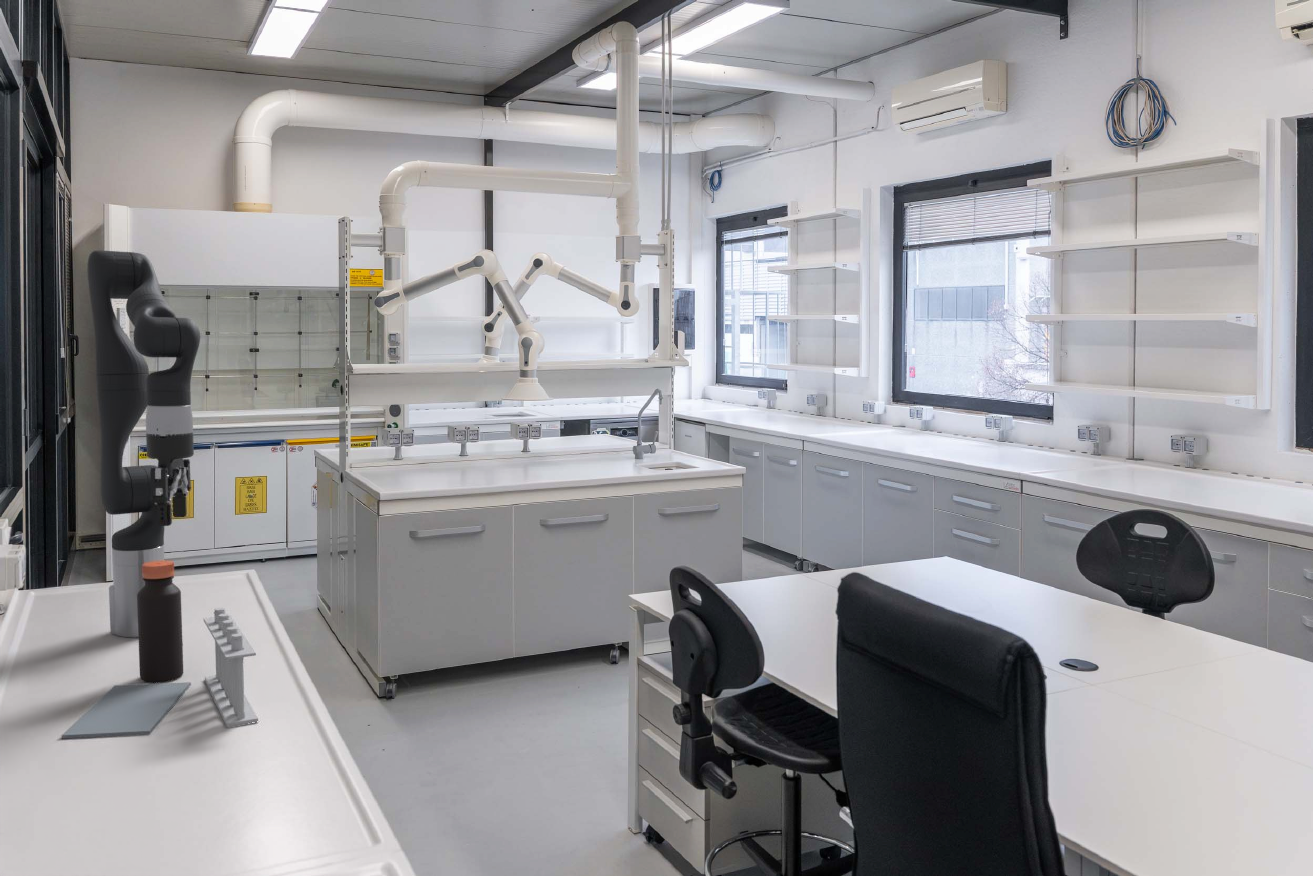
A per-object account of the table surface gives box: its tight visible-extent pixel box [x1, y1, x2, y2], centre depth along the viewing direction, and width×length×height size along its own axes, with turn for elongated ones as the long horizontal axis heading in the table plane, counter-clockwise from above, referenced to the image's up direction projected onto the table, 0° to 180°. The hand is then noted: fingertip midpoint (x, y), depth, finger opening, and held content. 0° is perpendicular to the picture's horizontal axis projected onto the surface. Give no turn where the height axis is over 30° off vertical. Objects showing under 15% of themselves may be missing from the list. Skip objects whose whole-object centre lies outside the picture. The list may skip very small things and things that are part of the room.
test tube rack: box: [203, 607, 259, 728], centre depth 164 cm, size 25×4×13 cm, turn 31°
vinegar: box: [137, 560, 184, 684], centre depth 175 cm, size 7×7×20 cm
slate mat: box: [61, 681, 192, 740], centre depth 160 cm, size 22×12×1 cm, turn 10°
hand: (172, 521), depth 181 cm, fingers open, 8 cm apart
